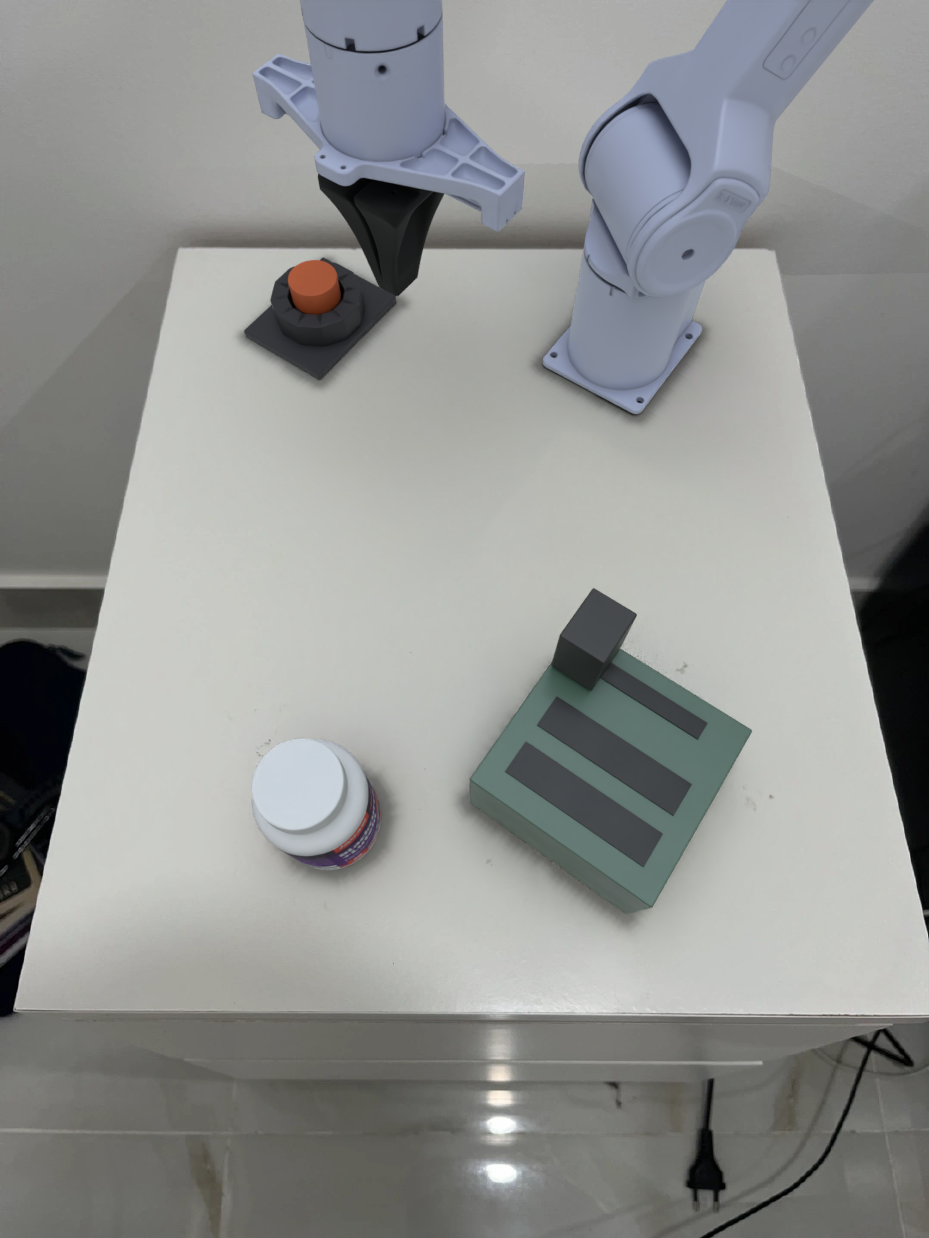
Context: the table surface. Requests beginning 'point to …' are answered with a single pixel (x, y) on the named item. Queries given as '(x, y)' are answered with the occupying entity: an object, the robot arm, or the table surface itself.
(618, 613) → the toaster slider
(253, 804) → the pill bottle
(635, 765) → the toaster
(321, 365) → the control pad
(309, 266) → the button
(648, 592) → the table surface
